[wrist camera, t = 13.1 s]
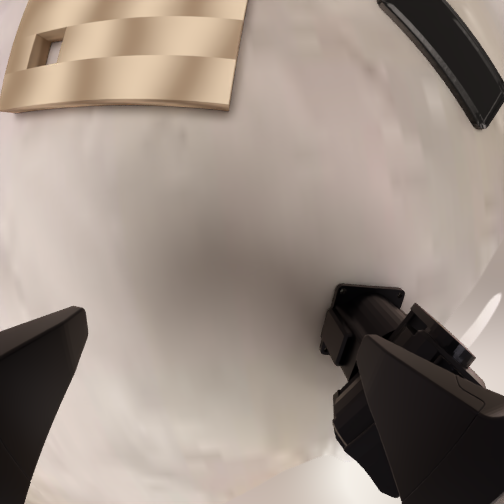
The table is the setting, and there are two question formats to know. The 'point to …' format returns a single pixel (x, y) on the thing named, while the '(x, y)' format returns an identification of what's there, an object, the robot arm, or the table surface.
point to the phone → (451, 54)
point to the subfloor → (124, 54)
